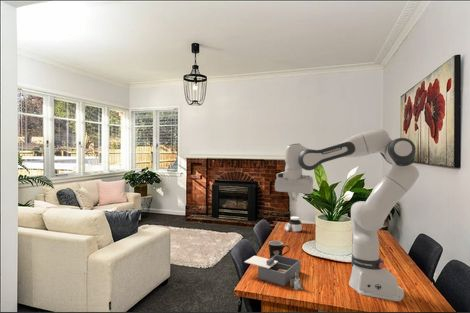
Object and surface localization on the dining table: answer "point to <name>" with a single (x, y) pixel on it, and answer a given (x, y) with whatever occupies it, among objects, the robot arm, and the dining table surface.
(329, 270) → the dining table surface
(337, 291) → the dining table surface
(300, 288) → the house of cards
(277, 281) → the box
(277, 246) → the coffee mug
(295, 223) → the spread jar
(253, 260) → the sliding lid
